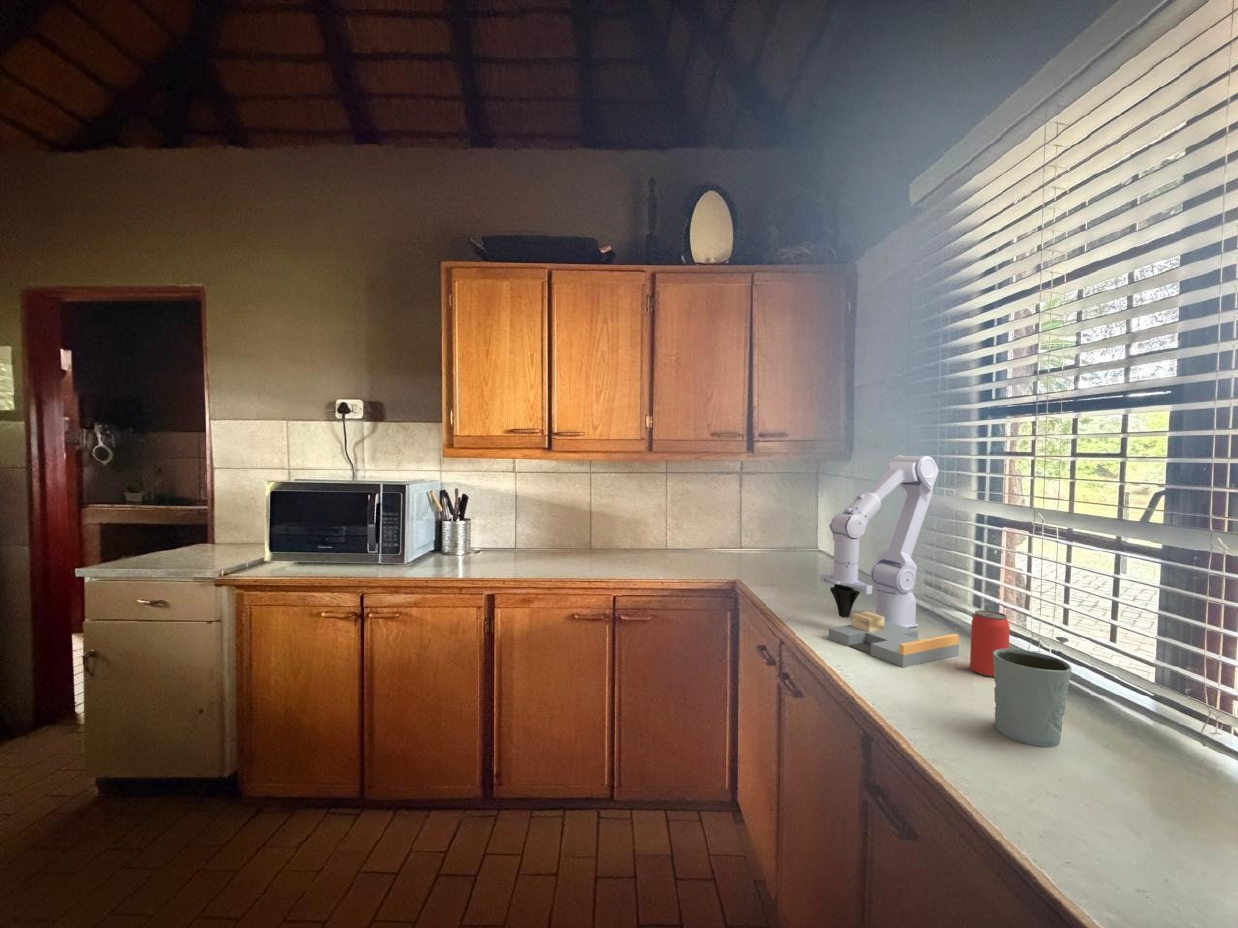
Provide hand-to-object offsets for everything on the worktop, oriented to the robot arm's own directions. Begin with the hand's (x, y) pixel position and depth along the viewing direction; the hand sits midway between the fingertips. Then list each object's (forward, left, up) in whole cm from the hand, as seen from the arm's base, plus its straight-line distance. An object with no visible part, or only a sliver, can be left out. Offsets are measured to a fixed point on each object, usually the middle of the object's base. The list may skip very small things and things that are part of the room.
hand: (844, 616), depth 147 cm
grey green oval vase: (+16, +52, -3) cm, 54 cm away
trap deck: (0, +14, -3) cm, 14 cm away
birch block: (0, +7, -1) cm, 7 cm away
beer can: (-5, +33, -3) cm, 33 cm away
